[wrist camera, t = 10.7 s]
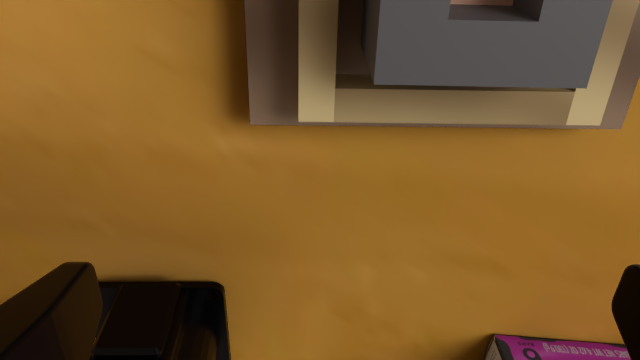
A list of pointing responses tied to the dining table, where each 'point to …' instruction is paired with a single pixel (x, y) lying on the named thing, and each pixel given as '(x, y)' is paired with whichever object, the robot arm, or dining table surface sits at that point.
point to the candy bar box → (551, 349)
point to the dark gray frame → (483, 42)
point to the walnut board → (414, 100)
